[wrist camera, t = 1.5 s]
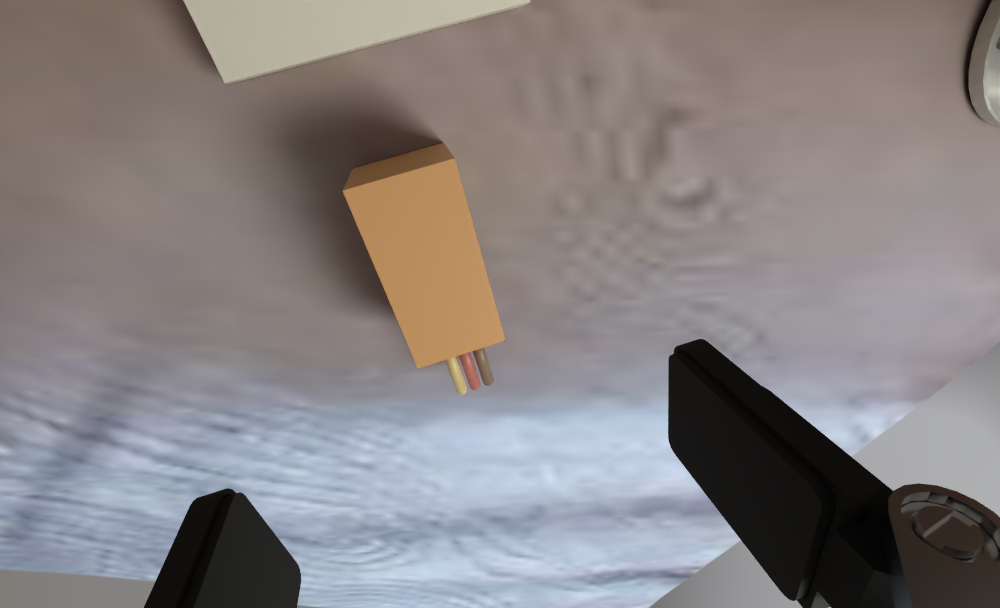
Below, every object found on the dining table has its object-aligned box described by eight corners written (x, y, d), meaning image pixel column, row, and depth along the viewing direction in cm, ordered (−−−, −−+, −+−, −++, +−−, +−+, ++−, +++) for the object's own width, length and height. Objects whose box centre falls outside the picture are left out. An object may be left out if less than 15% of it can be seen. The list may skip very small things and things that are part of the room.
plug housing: (443, 142, 23) (454, 158, 19) (504, 355, 30) (522, 401, 26) (352, 168, 23) (342, 190, 18) (436, 377, 30) (443, 428, 26)
